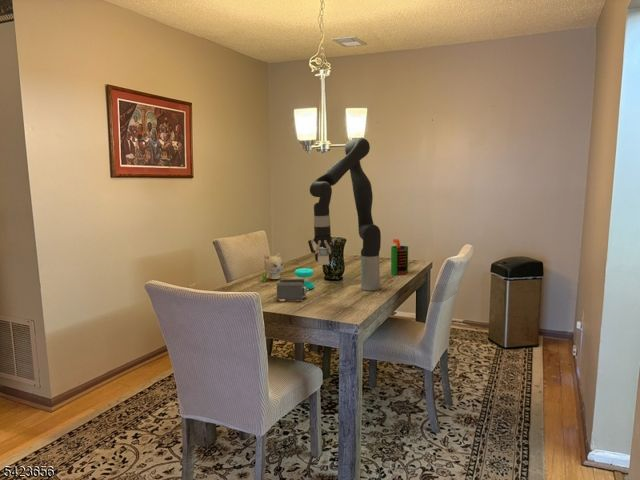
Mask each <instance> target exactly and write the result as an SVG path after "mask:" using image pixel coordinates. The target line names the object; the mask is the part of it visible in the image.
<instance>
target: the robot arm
mask: <svg viewBox="0 0 640 480" xmlns="http://www.w3.org/2000/svg"><path fill="white" fill-rule="evenodd" d="M370 149H371V147H370V142H369V141H368V140H367V139H366V138H362V137H360V138H354V139H349V140H348V141H346V143H345V146H344V153H345V155H344V157H342V158H341V159H339V160H338V161H336V162H335V163H333V164H332V165H331V166H330V167H329V168H328V169H327V170H326V172H325V173H324V174H322V175H320V176H319V177H318V178H317V179H315V180H314V181H313V182H312V183H311V185H310V186H309V194H310V195H311V196H313V197H314V198H319V199H318V202H315V203H314V205H313V232H314V237H313V239H308V241H307V243H308V246H309V250H310V253H311V254H314V256H315V258H314V260H315V261H316V263H318V255H319V249H320V248H327V250H328V254H329V262H330V263H331V261H332V260H333V253H335V252H336V250H337V244H338V239H337V238H333V237H332V232H331V216H330V205H331V200H332V194H333V188H332V187H333V186H335V185H336V184H337V183H338V182H339V181H340V180H341V179H342V178H343V176H345V174H346V173H348V171H349V172H350V178H351V184H352V186H351V187H352V192H353V197H354V203H355V209H356V214H357V221H358V222H357V224H358V225H357V227H358V234H359V237H360V239H362V248H361V251H360V273H361V275H360V277H361V280H360V281H361V283H360V284H361V286H360V288H361V290H363V291H378V290H379V291H380V289H381V288H380V287H381V285H380V284H381V282H380V281H381V280H380V277H381V275H380V274H381V272H380V251H381V241H382V238H381V237H382V235H381V228H380V227H379V226H378V225H376V224H374V221H373V216H372V215H373V214H372V210H373V209H372V208H373V200H374V199H373V198H374V195H373V190H372V184H371V181H370V179H369V177H368V176H367V174H366V173H365V172H364V170H363V167H362V165H361V160H363V159H364V158H365V157H366V156H367V155H369V152H370ZM331 242H332V244H333V246H332V248H331V246H330V244H331ZM314 243H315V244H316V247H315V249H314V247H313V244H314Z"/></svg>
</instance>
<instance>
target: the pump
mask: <svg viewBox="0 0 640 480" xmlns="http://www.w3.org/2000/svg"><path fill="white" fill-rule="evenodd" d="M330 263H331V261H330V262H329V252H328V250H327V247H319V250H318V262H317V265H318V266H321V265H322V266H323V265H325V266H326V265H327V266H328V265H330Z"/></svg>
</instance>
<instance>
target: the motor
mask: <svg viewBox="0 0 640 480" xmlns="http://www.w3.org/2000/svg"><path fill="white" fill-rule="evenodd" d="M392 243H393V244H395V245H393V246H391V247H390V274H391V275H392V276H405V275H407V274H408V273H409V246H407V245H401V243H400V240H399V238H394V239H392Z"/></svg>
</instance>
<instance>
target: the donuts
mask: <svg viewBox="0 0 640 480" xmlns="http://www.w3.org/2000/svg"><path fill="white" fill-rule="evenodd" d="M293 273H294V276H295V277H298V278H300V279H305V278H310V277H312V276H313V275H314V274H315V272H314V270H313V269H312V268H305V267H304V268H302V267H301V268H297V269H295V271H294V272H293ZM304 282H305V287H306V288H307V289H310V290H312V288H313V289H314V287H315V284H314V283H313V282H312V281H311V280H304Z"/></svg>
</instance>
